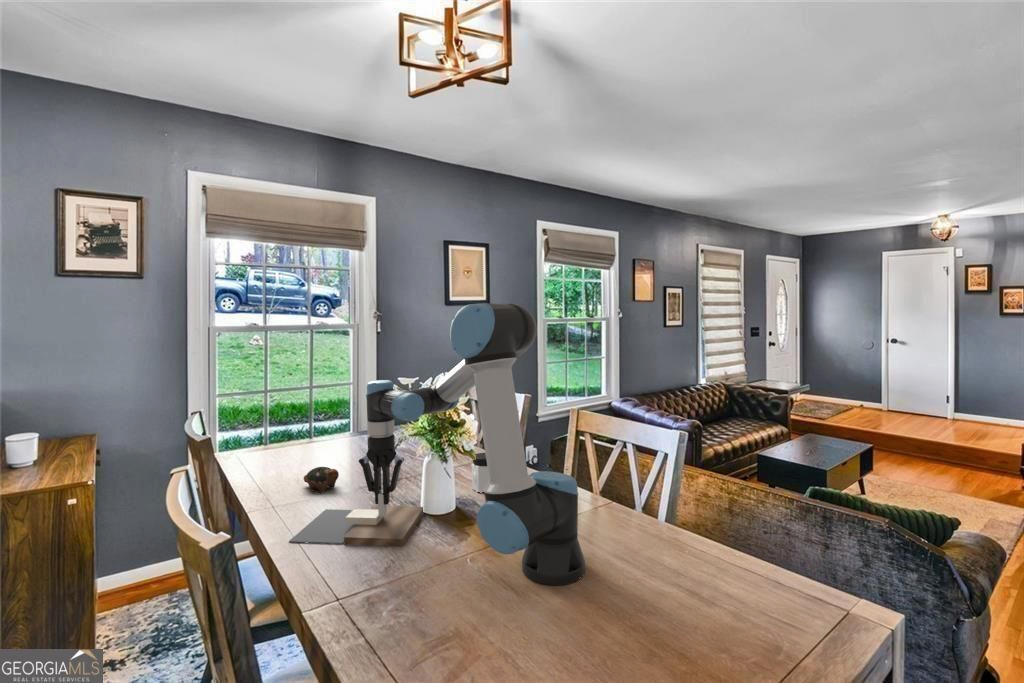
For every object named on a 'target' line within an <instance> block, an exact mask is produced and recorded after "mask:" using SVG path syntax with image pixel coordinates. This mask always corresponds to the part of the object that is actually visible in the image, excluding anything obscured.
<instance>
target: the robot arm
mask: <svg viewBox="0 0 1024 683" xmlns="http://www.w3.org/2000/svg"><path fill="white" fill-rule="evenodd" d="M537 329H538V328H537V322H536V320H535V318H534V315H533V314H532V313H531V312H530V311H529V310H528V309H527V308H525V307H524V306H522V305H520V304H516V303H515V304H514V303H490V302H480V303H470V304H467V305H465V306H463V307H461V308H460V309H459V310H458V311H457V312H456V314H455V316H454V318H453V319H452V321H451V325H450V329H449V330H450V331H449V337H450V338H449V339H450V344H451V347H452V349H453V350H454V351H455V353H456V354H457V355H458V356H459V357H462V358H463V359H462V360H461V361H460V362H459V363H458V364H456V366H455V367H453V368H452V369H451V370H450V371H448V373H446V374H445V375H444V376H443V377H442V378H440V379H439V381H437V382H436V383H435V384H433V385H432V386H429V387H428V386H427V387H422V388H415V389H409V390H396V389H395V386H394V382H393V381H392V380H388V379H379V380H370V381H369V382H368V383H366V394H365V397H366V419H367V422H366V426H367V427H366V428H367V429H366V430H367V431H366V433H367V435H368V436H367V452H366V454H365V455H364V456H362V457H361V458H359V459H358V463H359V464H360V466H361V467H362V471H363V475H364V479H365V482H366V487H367V492H368V491H369V492H372V493H374V503H375V505H377V506H378V515H379V517H384V516H385V514H386V513H387V506H388V504H389V503H390V498H391V497H390V493H393V492H394V491H395V490H396V488H397V484H398V479H399V476H400V471H401V466H402V465H403V462H404V461H405V458H404V457H400V456H399V455H397V451H396V447H395V446H396V445H395V442H396V441H395V438H396V437H395V419H397V420H399V421H403V422H407V421H408V422H414V421H416V420H418V419H419V418H420V417H421V416H425V415H432V414H434V413H441V412H447V411H450V410H453V409H454V408H456V407H457V406H458V403H459V402H460V398H462V396H464V395H465V394H467V392H469V391H470V390H472V389H473V388H474V387H475V391H476V392H475V393H476V399H477V406H478V412H479V419H480V420H479V421H480V425H481V431H482V439H483V445H484V451H485V452H484V453H486V460H487V467H488V473H489V483H488V484H487V486H486V487H485V489H484V493H483V494H484V499H485V500H484V501H485V502H484V503H482V504H481V506H480V507H479V509H478V511H477V516H476V521H477V522H476V523H477V526H478V530H479V534H480V535H481V537H482V539H483V541H485V543H486V544H488V546H489V548H491V549H492V550H494V551H495V552H496V553H499V554H501V555H513V554H515V553H517V552H521V551H523V550H524V552H523V555H522V557H521V558H522V559H521V570H522V573H523V575H525V577H527V578H528V579H529V578H530V579H529V580H531V581H533V582H535V583H538V584H541V583H542V585H547V586H563V584H565V585H568V584H567V583H570V584H572V583H571V582H573V581H575V582H577V581H579V580H580V579H581V578H582V577H583V576H584V575H583V574H585V573H586V560H585V558H584V553H583V551H582V548H581V545H580V542H579V539H578V528H579V527H578V526H579V525H578V524H579V523H578V521H579V520H578V517H579V515H578V514H579V513H578V510H579V509H578V508H579V507H578V506H579V504H578V503H579V499H578V498H579V492H578V482H577V480H576V479H575V478H574V477H573V476H572V475H568V474H566V473H562V472H557V471H548V470H546V471H545V470H544V471H543V470H542V471H541V470H540V471H533V472H532V473H530V474H529V473H528V466H527V459H526V454H525V447H524V440H523V435H522V433H523V432H522V428H521V427H522V426H521V422H520V415H519V408H518V402H517V396H516V388H515V383H514V377H513V371H512V367H513V365H514V363H516V361H517V359H518V358H519V357H520V356H521V355H523V354H524V353H525V352H526V351H527V350H529V348H530V347H531V346H532V345H533V344H534V342H535V339H536V337H537V333H538V332H537ZM393 387H394V389H393ZM370 463H371V464H372V467H373V468H371V465H370ZM392 463H394V467H393V472H392V475H390V472H391V470H390V468H391V464H392ZM372 470H373V471H372ZM372 472H373V473H372ZM390 477H391V478H390ZM584 572H585V573H584ZM582 575H583V576H582ZM580 577H581V578H580ZM579 578H580V579H579ZM578 579H579V580H578ZM576 580H577V581H576ZM573 583H574V582H573ZM561 584H562V585H561Z"/></svg>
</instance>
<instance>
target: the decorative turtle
mask: <svg viewBox="0 0 1024 683" xmlns="http://www.w3.org/2000/svg"><path fill="white" fill-rule="evenodd" d="M339 476H340V474H339V471H338V470H337V469H336V468H331V467H328V466H318V467H315V468H312V469H310V470H309V471H308V472H307V473H306V475H304V476H303V481H304V483H307V485H308V487H309V490H310V491H312V490H314V491H316V490H317V489H318V492H320V493H321V492H323V491H324V492H325V491H326V490H327V489H328V487H329V488H330V487H333V488H334V487H335V486H336V482H337V480H338V479H339ZM315 489H316V490H315ZM324 492H323V493H324Z"/></svg>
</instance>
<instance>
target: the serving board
mask: <svg viewBox="0 0 1024 683" xmlns="http://www.w3.org/2000/svg"><path fill="white" fill-rule="evenodd" d="M423 507H424V506H407V505H406V506H402V505H401V506H400V505H387V513H386V514H385V516H384V517H383V518H382V519H381V520H380V521H379V523H378V524H377V525H360V524H356V525H355V526H354V527H353V528H352V529H351V530H350V531H349V532H348V533H347V534H346V536H345V537H344V543H343V545H347V544H353V545H354V546H377V547H378V546H381V547H384V546H385V547H403V546H404V545H405V543H406V541H407V540H408V538H409V536H411V534H412V532H413V531H414V529H415V528H416V526H417V524H418V523H419V521H420V520H421V518H422V517H423V515H424V514H423ZM370 509H373V510H378V505H372V506H371V508H370Z"/></svg>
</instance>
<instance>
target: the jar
mask: <svg viewBox="0 0 1024 683" xmlns="http://www.w3.org/2000/svg"><path fill="white" fill-rule="evenodd" d="M474 455H476V460H473V459H472V463H471V489H472V488H473V489H474V490H476V491H478V492H484V489H485V487H486V486H487V484H488V483H489V473H488V467H487V460H486V453H485V452H479V453H478V452H477V453H474ZM474 490H473V491H474Z"/></svg>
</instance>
